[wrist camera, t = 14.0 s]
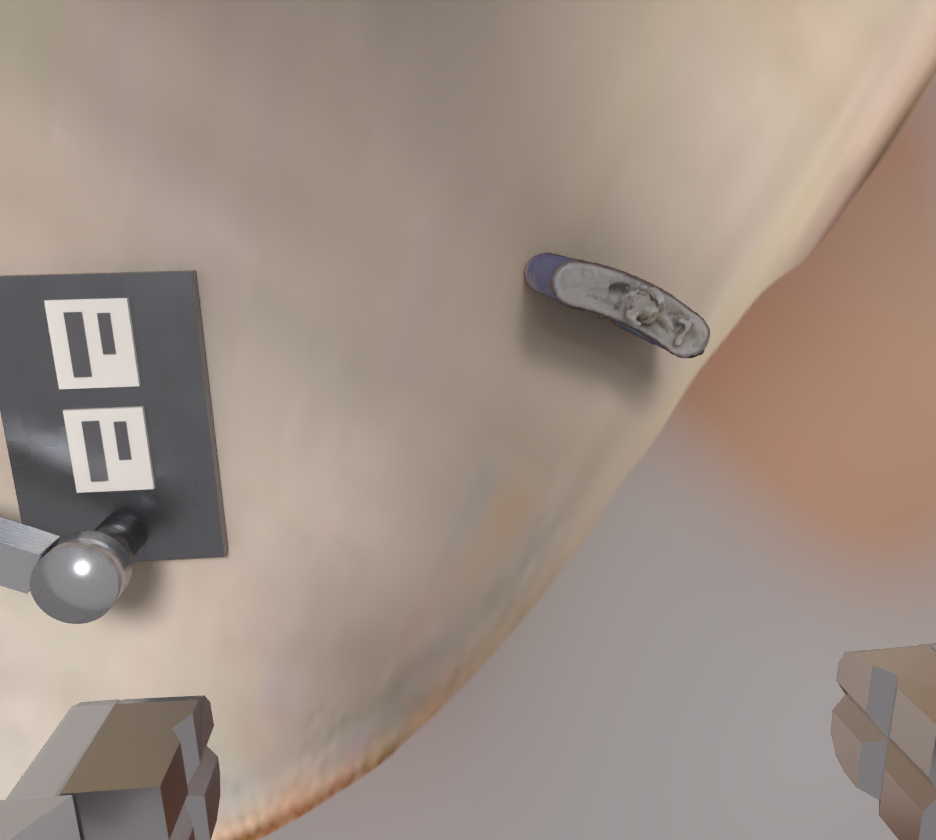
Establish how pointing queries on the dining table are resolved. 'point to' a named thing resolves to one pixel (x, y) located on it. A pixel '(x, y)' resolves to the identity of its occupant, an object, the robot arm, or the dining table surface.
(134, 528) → the dark grey cylinder
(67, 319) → the label plate
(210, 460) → the chassis plate
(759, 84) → the dining table surface
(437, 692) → the dining table surface
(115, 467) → the plate
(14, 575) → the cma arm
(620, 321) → the flask
